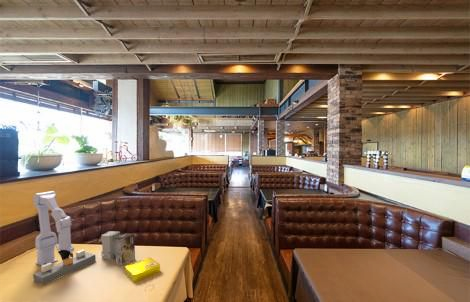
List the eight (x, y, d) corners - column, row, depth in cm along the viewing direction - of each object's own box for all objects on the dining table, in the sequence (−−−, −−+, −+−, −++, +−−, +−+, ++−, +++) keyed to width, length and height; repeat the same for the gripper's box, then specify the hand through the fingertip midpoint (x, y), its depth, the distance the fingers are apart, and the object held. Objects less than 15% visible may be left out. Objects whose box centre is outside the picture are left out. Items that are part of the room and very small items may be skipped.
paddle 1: (41, 271, 127) (41, 265, 127) (49, 267, 131) (49, 262, 131) (43, 272, 126) (43, 266, 126) (52, 268, 130) (52, 263, 130)
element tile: (149, 263, 142) (149, 255, 142) (161, 272, 131) (161, 264, 131) (123, 273, 131) (123, 265, 131) (134, 284, 121) (134, 274, 121)
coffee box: (129, 257, 150) (128, 232, 150) (135, 259, 147) (134, 234, 147) (115, 263, 142) (114, 237, 142) (121, 266, 139) (120, 239, 139)
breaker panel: (33, 281, 125) (33, 274, 125) (86, 258, 150) (86, 252, 150) (42, 285, 121) (42, 277, 121) (95, 261, 147) (95, 254, 146)
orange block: (63, 264, 134) (63, 259, 134) (70, 261, 138) (70, 256, 138) (65, 265, 133) (65, 260, 133) (73, 262, 136) (72, 257, 136)
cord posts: (43, 272, 133) (42, 263, 133) (72, 260, 147) (72, 252, 147) (44, 273, 132) (44, 264, 132) (73, 260, 146) (73, 252, 146)
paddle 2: (76, 257, 144) (75, 252, 144) (82, 254, 147) (82, 249, 147) (78, 257, 142) (78, 252, 142) (85, 254, 146) (85, 250, 146)
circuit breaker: (121, 260, 147) (120, 236, 146) (101, 258, 150) (100, 235, 149) (129, 254, 154) (128, 232, 154) (110, 253, 157) (109, 231, 157)
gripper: (49, 239, 136) (50, 262, 136) (64, 243, 129) (65, 267, 130) (63, 235, 142) (64, 257, 142) (77, 238, 136) (78, 261, 136)
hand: (65, 262), depth 136 cm, fingers closed
